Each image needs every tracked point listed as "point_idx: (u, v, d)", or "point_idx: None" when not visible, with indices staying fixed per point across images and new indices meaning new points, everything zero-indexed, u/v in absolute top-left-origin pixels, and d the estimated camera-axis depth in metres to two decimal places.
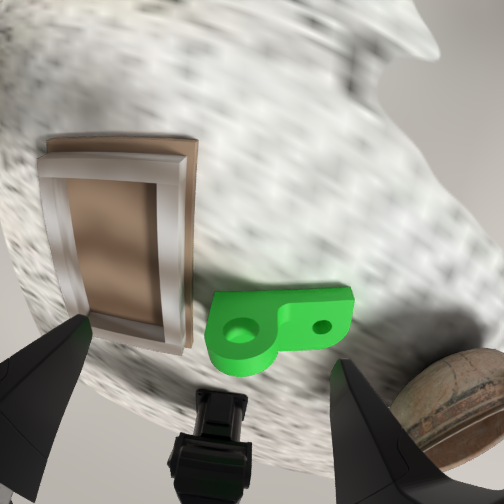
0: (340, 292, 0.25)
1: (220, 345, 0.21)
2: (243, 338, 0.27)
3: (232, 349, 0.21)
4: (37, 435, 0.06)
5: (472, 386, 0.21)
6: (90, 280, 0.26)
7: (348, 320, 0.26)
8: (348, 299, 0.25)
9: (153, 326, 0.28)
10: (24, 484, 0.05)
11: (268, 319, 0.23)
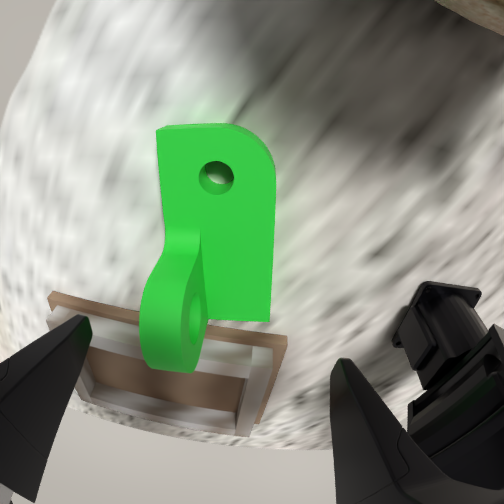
0: None
1: None
2: (240, 293, 0.19)
3: None
4: (37, 435, 0.06)
5: None
6: (194, 401, 0.27)
7: (201, 133, 0.14)
8: (157, 139, 0.14)
9: None
10: (24, 484, 0.05)
11: None
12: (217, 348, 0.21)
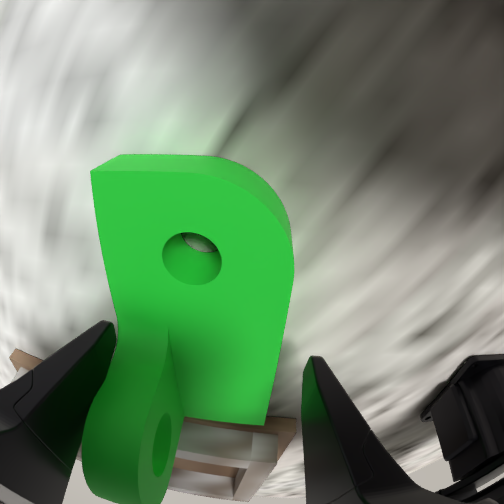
0: None
1: None
2: (226, 399, 0.12)
3: None
4: (63, 447, 0.06)
5: None
6: (187, 467, 0.21)
7: (165, 181, 0.08)
8: (93, 187, 0.08)
9: None
10: (49, 498, 0.05)
11: None
12: (208, 437, 0.15)
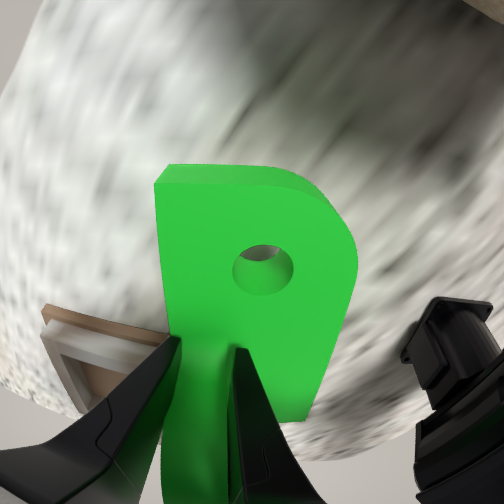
0: None
1: None
2: (274, 401, 0.13)
3: None
4: (138, 474, 0.06)
5: None
6: None
7: (244, 194, 0.08)
8: (156, 201, 0.08)
9: None
10: None
11: None
12: None
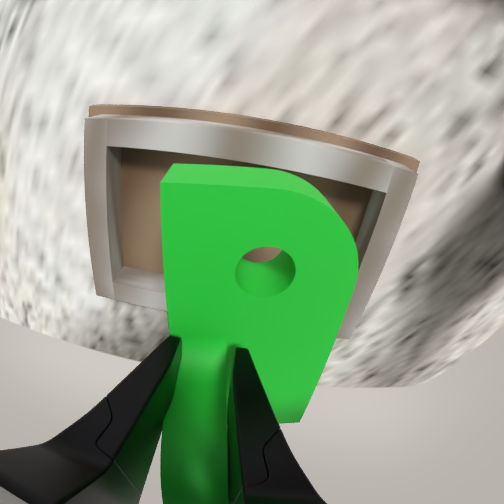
0: None
1: None
2: (270, 401, 0.13)
3: None
4: (138, 474, 0.06)
5: None
6: None
7: (250, 196, 0.08)
8: (161, 200, 0.08)
9: (367, 209, 0.17)
10: None
11: None
12: (344, 149, 0.15)
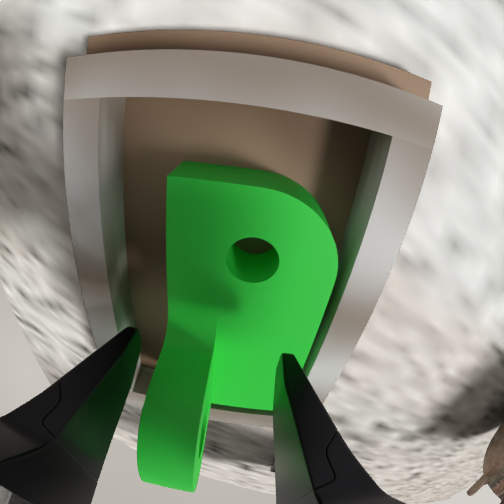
0: None
1: None
2: (256, 386, 0.14)
3: None
4: (91, 459, 0.06)
5: None
6: (150, 321, 0.15)
7: (241, 193, 0.09)
8: (167, 190, 0.09)
9: None
10: None
11: None
12: None
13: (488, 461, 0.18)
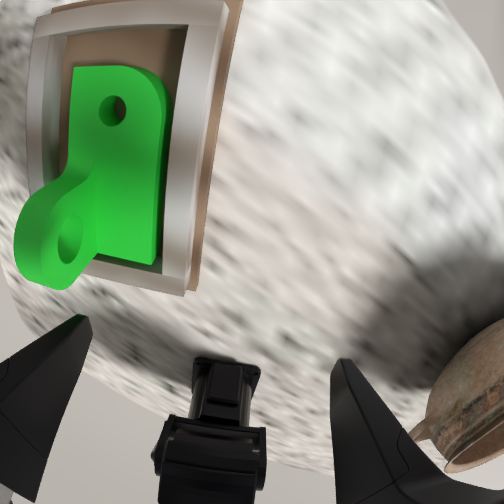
0: None
1: None
2: (124, 228, 0.18)
3: None
4: (37, 435, 0.06)
5: None
6: None
7: (106, 70, 0.13)
8: (73, 75, 0.13)
9: None
10: (24, 484, 0.05)
11: None
12: (191, 236, 0.19)
13: (427, 410, 0.23)
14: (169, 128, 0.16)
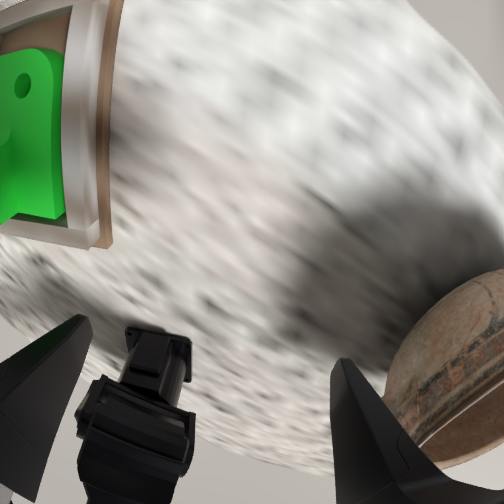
0: None
1: None
2: (33, 186, 0.17)
3: None
4: (37, 435, 0.06)
5: None
6: None
7: (19, 54, 0.12)
8: (0, 62, 0.12)
9: (63, 214, 0.20)
10: (24, 484, 0.05)
11: None
12: (91, 189, 0.18)
13: (385, 394, 0.21)
14: None
